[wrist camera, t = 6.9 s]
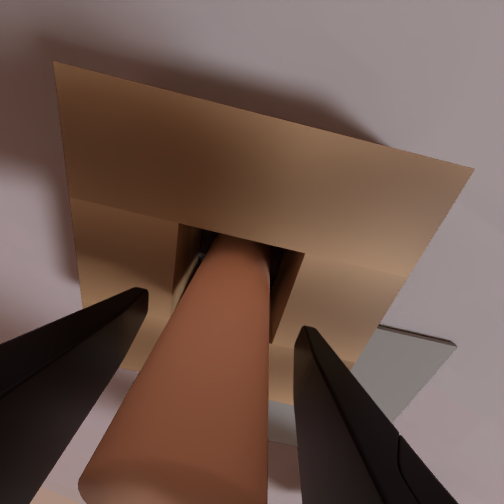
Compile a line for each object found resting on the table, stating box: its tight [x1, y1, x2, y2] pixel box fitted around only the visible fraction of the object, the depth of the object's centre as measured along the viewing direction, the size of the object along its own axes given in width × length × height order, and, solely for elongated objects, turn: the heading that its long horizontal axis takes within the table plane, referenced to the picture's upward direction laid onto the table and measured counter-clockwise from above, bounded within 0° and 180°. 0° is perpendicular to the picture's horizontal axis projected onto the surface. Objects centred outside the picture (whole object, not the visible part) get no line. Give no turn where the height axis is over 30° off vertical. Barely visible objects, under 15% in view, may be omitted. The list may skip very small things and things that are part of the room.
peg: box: [78, 233, 270, 504], centre depth 8 cm, size 3×3×10 cm
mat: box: [268, 326, 457, 447], centre depth 17 cm, size 14×10×1 cm
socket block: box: [53, 61, 475, 405], centre depth 11 cm, size 12×12×4 cm
